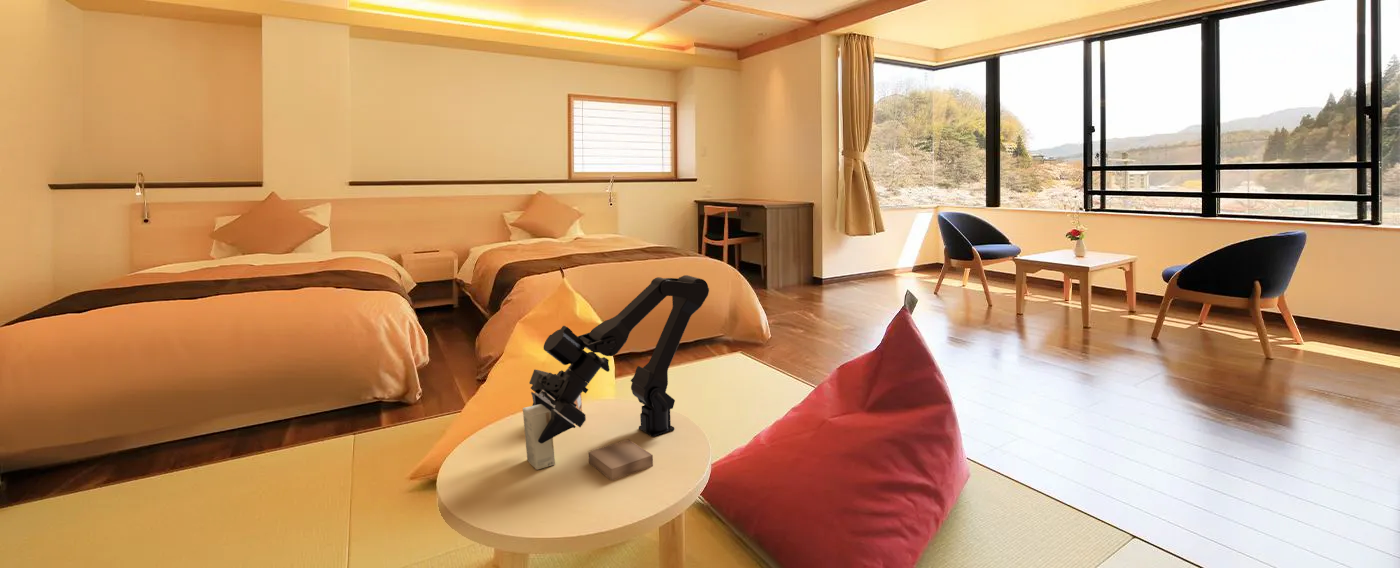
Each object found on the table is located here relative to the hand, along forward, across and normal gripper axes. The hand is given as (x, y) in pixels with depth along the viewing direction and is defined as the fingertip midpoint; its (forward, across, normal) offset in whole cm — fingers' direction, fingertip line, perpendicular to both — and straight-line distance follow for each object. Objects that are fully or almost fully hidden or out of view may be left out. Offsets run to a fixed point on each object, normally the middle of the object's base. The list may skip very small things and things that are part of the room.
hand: (532, 435), depth 136 cm
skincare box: (+4, 0, +6) cm, 7 cm away
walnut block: (-6, +11, +16) cm, 20 cm away
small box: (-6, -19, +16) cm, 25 cm away
